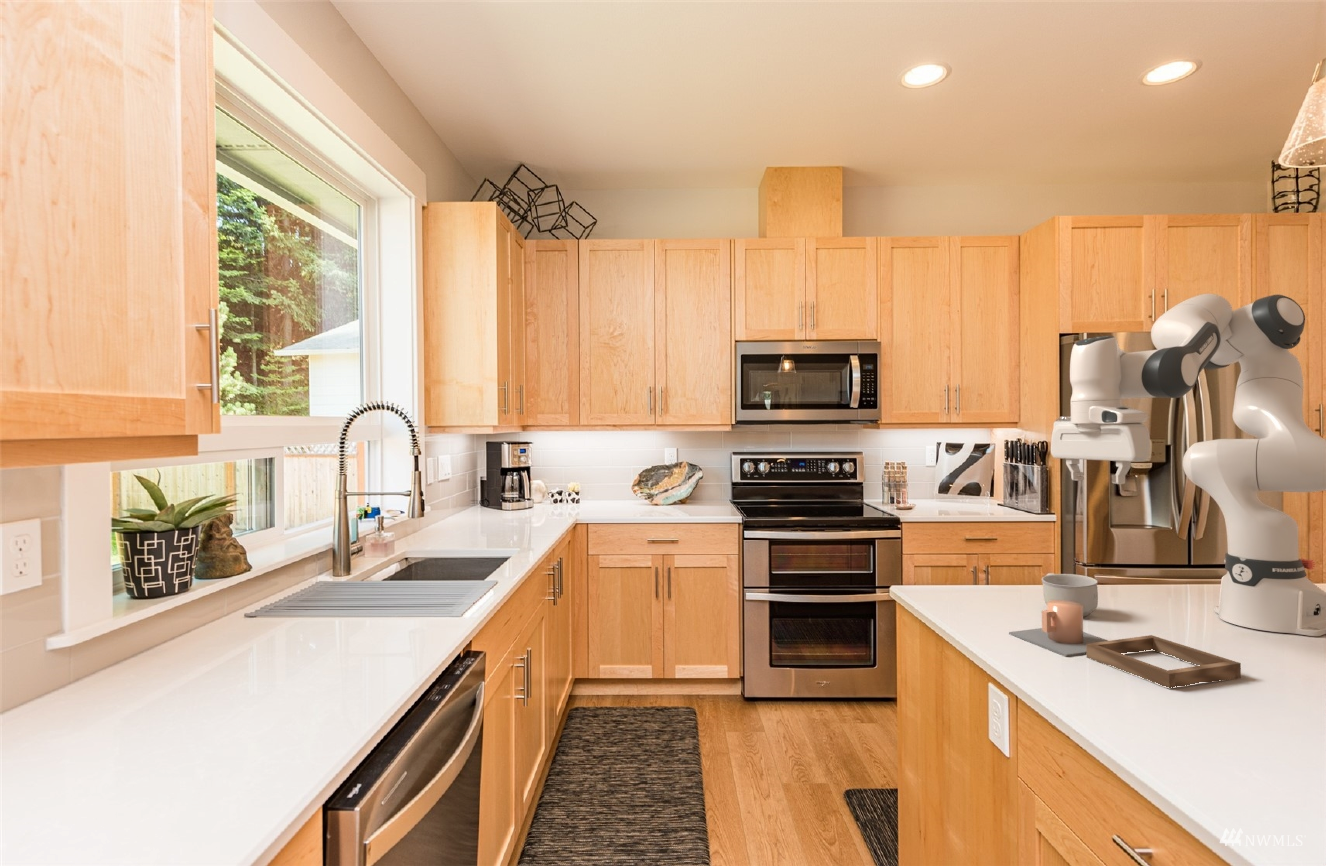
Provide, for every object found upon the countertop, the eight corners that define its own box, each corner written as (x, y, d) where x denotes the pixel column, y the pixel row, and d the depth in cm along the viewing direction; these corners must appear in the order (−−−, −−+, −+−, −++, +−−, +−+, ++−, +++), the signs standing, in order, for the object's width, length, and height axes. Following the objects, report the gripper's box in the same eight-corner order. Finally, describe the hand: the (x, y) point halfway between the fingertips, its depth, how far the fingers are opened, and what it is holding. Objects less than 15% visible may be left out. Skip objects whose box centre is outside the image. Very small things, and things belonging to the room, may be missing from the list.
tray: (1151, 648, 124) (1151, 635, 124) (1240, 677, 109) (1240, 663, 109) (1086, 657, 120) (1086, 643, 120) (1169, 689, 105) (1169, 673, 105)
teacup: (1107, 621, 141) (1106, 584, 141) (1052, 619, 143) (1052, 583, 143) (1080, 603, 155) (1079, 570, 154) (1030, 602, 157) (1029, 569, 157)
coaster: (1064, 627, 138) (1064, 625, 138) (1125, 648, 124) (1125, 646, 124) (1009, 633, 134) (1009, 632, 134) (1066, 656, 121) (1066, 654, 121)
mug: (1065, 632, 133) (1064, 598, 133) (1090, 642, 127) (1090, 606, 127) (1032, 637, 131) (1031, 602, 131) (1057, 646, 125) (1056, 610, 125)
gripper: (1042, 416, 143) (1043, 479, 143) (1129, 414, 123) (1131, 486, 123) (1065, 416, 144) (1067, 477, 144) (1155, 413, 124) (1157, 485, 124)
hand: (1097, 482), depth 133 cm, fingers open, 8 cm apart
